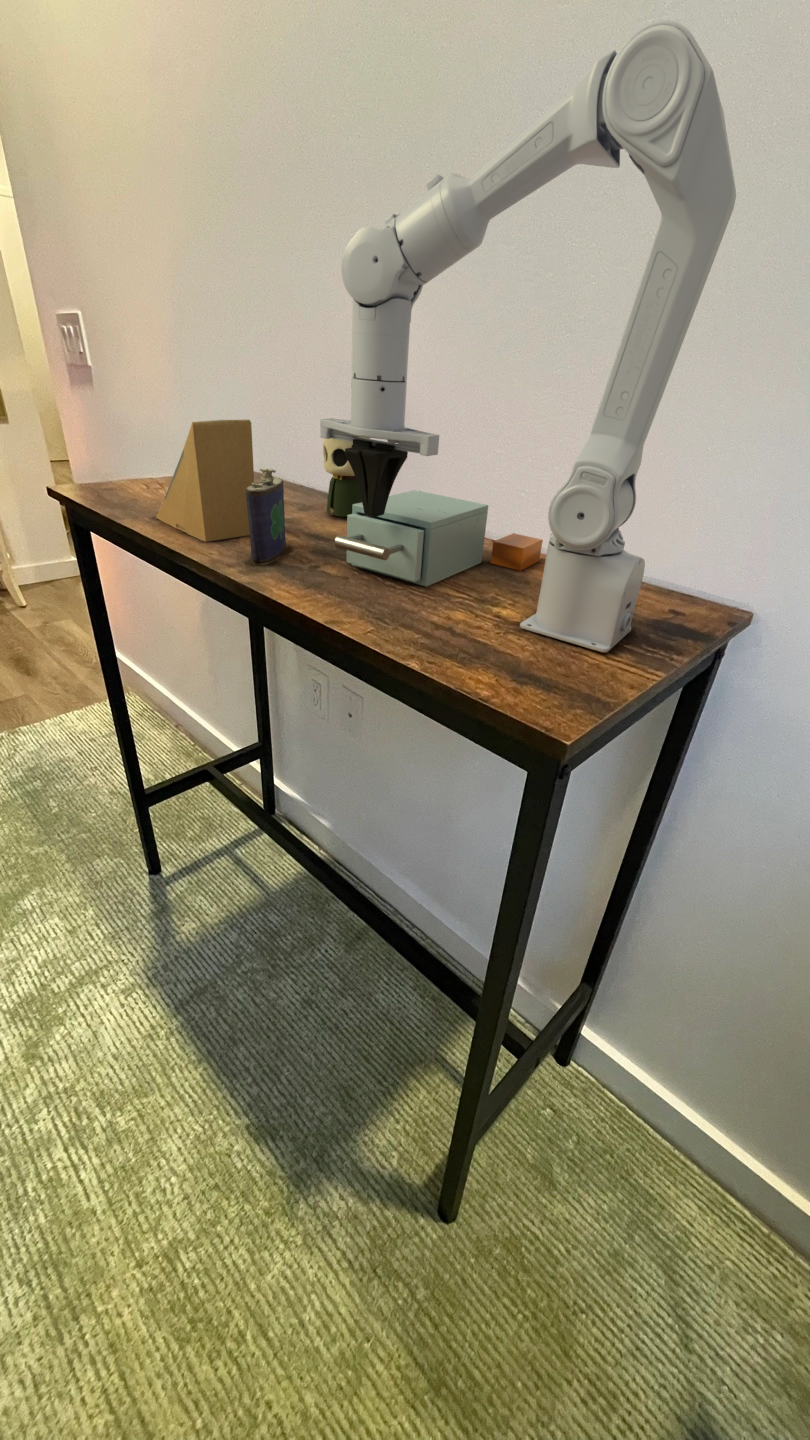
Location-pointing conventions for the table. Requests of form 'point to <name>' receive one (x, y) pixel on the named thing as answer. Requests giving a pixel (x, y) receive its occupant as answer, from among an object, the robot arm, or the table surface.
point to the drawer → (384, 545)
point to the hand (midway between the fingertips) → (374, 514)
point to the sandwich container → (212, 481)
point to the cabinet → (439, 531)
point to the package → (516, 551)
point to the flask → (266, 518)
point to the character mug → (340, 477)
